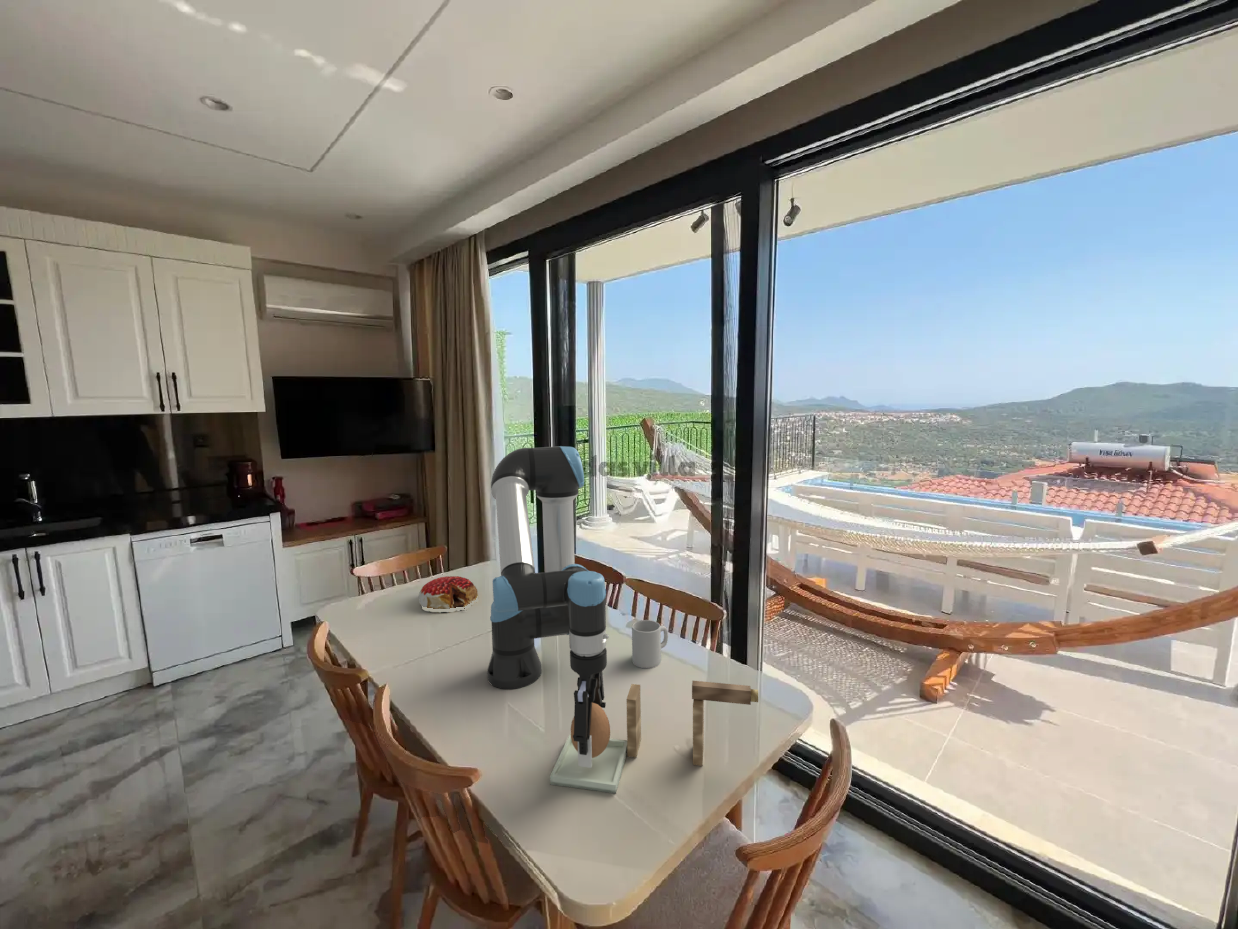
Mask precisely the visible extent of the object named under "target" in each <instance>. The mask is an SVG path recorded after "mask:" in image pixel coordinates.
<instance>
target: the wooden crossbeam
mask: <svg viewBox="0 0 1238 929" xmlns="http://www.w3.org/2000/svg"><path fill="white" fill-rule="evenodd" d="M691 682H692V683H691V699H692V700H694V699H697V700H704V701H708V702H709V701H710V702H719V703H729V704H738V705H748V706H749V705H751V703H759V689H755V688H753V689H752V688H751V685H745V684H743V685H742V684H734V683H724V682H723V683H721V682H712V681H702V680H701V681H700V680H692V681H691Z"/></svg>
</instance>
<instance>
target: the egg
mask: <svg viewBox="0 0 1238 929" xmlns="http://www.w3.org/2000/svg"><path fill="white" fill-rule="evenodd" d="M570 734H571V740H572V744H573V746H574V748H575V749H576V751H577V752H578V742H576V741H574V738H573V735H574V717H573V718H572V721H571V725H570ZM590 735H591V738H592V758H594V757H597V756H599V755H600V754H601V753H602V752H603V751H604V750H605V749H606V747H607V745H608V743H609V739H610V738H611V725H610V720H609V718H608V716H607V714H606V712H605V710H604V708H601V707H600V706H599V705H598V704H595V703H593V702H592V712H591V725H590Z"/></svg>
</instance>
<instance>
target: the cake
mask: <svg viewBox="0 0 1238 929" xmlns="http://www.w3.org/2000/svg"><path fill="white" fill-rule="evenodd" d="M477 596H478V597H479V593H478V589H477V587H476V585H475V584H474V582H472V581H471V580H470V579H468V578H466V577H462V576H456V575H453V576H451V575H450V576H448V575H447V576H440V577H437V578H434V579H432V580H430V581H428V582H427V583H425V584H423V586H422V588H421V589H420V591H419V594H418V602H419V604H421V606H423V607H427V608H433V609H450V608H456V607H465V606H467V605H468V604H470V603H472V601H475V600H476V598H477ZM421 606H420V607H421ZM464 609H465V608H464Z"/></svg>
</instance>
